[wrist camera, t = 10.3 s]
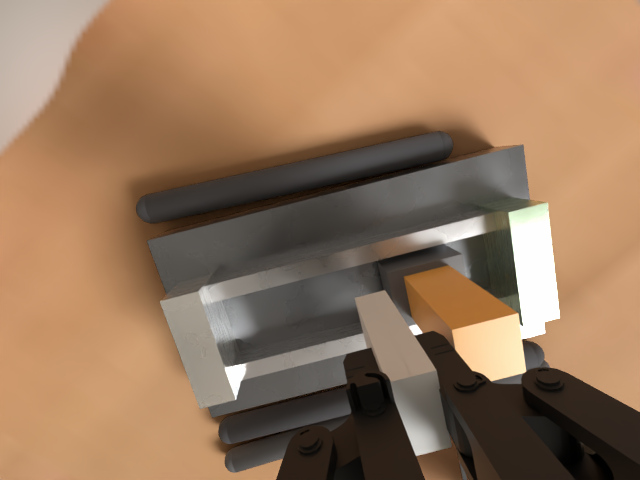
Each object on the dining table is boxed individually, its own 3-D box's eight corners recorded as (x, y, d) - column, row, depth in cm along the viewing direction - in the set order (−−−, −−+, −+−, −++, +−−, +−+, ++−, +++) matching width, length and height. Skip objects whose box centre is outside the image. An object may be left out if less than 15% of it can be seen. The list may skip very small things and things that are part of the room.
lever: (388, 310, 21) (442, 403, 13) (377, 260, 20) (427, 325, 12) (452, 294, 21) (548, 376, 13) (444, 243, 20) (539, 297, 12)
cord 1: (149, 223, 23) (136, 228, 21) (140, 196, 22) (126, 199, 21) (447, 158, 23) (459, 157, 21) (444, 130, 22) (456, 127, 21)
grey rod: (225, 433, 26) (220, 453, 24) (218, 413, 26) (212, 431, 24) (535, 355, 26) (551, 369, 24) (532, 334, 26) (549, 346, 24)
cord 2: (231, 462, 27) (227, 480, 25) (224, 445, 26) (219, 463, 25) (542, 368, 26) (557, 381, 25) (538, 350, 26) (554, 362, 24)
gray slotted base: (222, 388, 25) (198, 455, 20) (166, 231, 23) (119, 253, 17) (517, 313, 25) (581, 358, 19) (494, 147, 23) (561, 140, 17)
